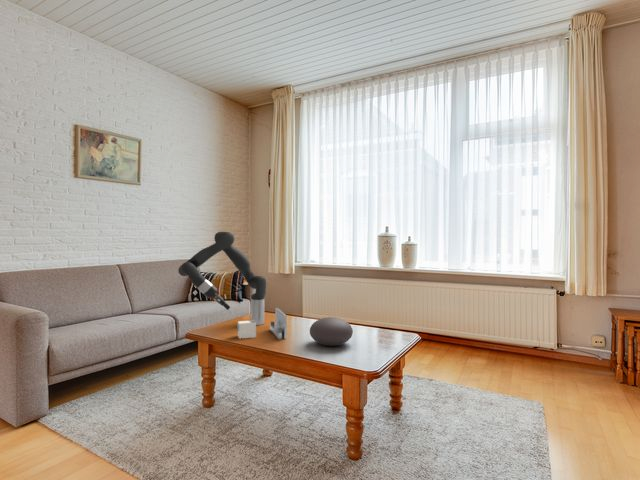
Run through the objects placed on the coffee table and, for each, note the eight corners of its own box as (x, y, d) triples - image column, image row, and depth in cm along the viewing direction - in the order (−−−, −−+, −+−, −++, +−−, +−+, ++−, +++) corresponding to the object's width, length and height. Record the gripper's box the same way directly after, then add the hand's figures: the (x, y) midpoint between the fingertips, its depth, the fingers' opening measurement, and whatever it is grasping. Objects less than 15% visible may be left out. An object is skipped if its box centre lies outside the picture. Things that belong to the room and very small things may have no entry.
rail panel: (269, 329, 235) (269, 308, 235) (277, 328, 237) (277, 307, 237) (278, 339, 213) (278, 315, 213) (286, 338, 215) (286, 315, 215)
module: (236, 336, 219) (237, 320, 219) (254, 334, 223) (254, 319, 223) (238, 338, 214) (238, 322, 214) (255, 337, 217) (256, 321, 217)
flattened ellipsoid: (358, 341, 212) (358, 315, 211) (343, 353, 189) (344, 325, 189) (320, 336, 222) (320, 311, 222) (301, 347, 199) (302, 320, 199)
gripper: (212, 285, 205) (234, 305, 209) (211, 282, 217) (232, 301, 222) (203, 295, 203) (225, 315, 207) (202, 291, 216) (223, 310, 220)
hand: (228, 308), depth 214 cm, fingers closed
